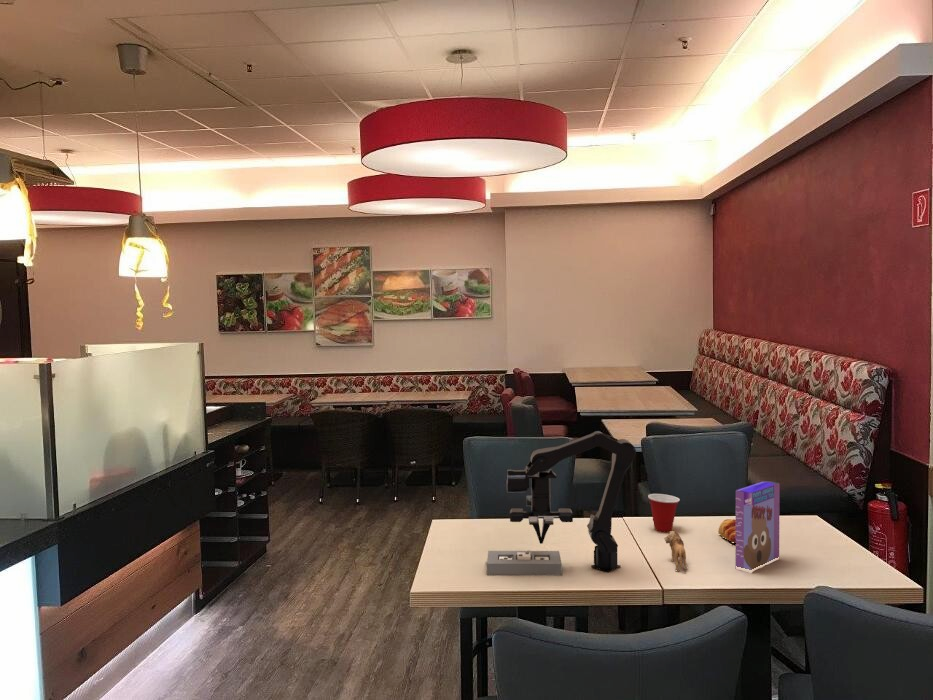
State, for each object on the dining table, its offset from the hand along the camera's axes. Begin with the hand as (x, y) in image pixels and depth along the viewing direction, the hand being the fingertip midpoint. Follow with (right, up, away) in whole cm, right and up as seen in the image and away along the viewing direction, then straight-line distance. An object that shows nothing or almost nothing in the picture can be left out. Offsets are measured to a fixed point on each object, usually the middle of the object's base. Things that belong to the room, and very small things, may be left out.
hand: (541, 543), depth 231 cm
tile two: (-5, -5, +1) cm, 7 cm away
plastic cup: (+47, -5, +37) cm, 60 cm away
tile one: (0, -7, 0) cm, 7 cm away
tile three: (-11, -7, +1) cm, 13 cm away
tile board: (-5, -8, +1) cm, 9 cm away
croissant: (+68, -5, +28) cm, 74 cm away
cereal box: (+66, -7, +1) cm, 66 cm away
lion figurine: (+41, -7, +1) cm, 42 cm away
